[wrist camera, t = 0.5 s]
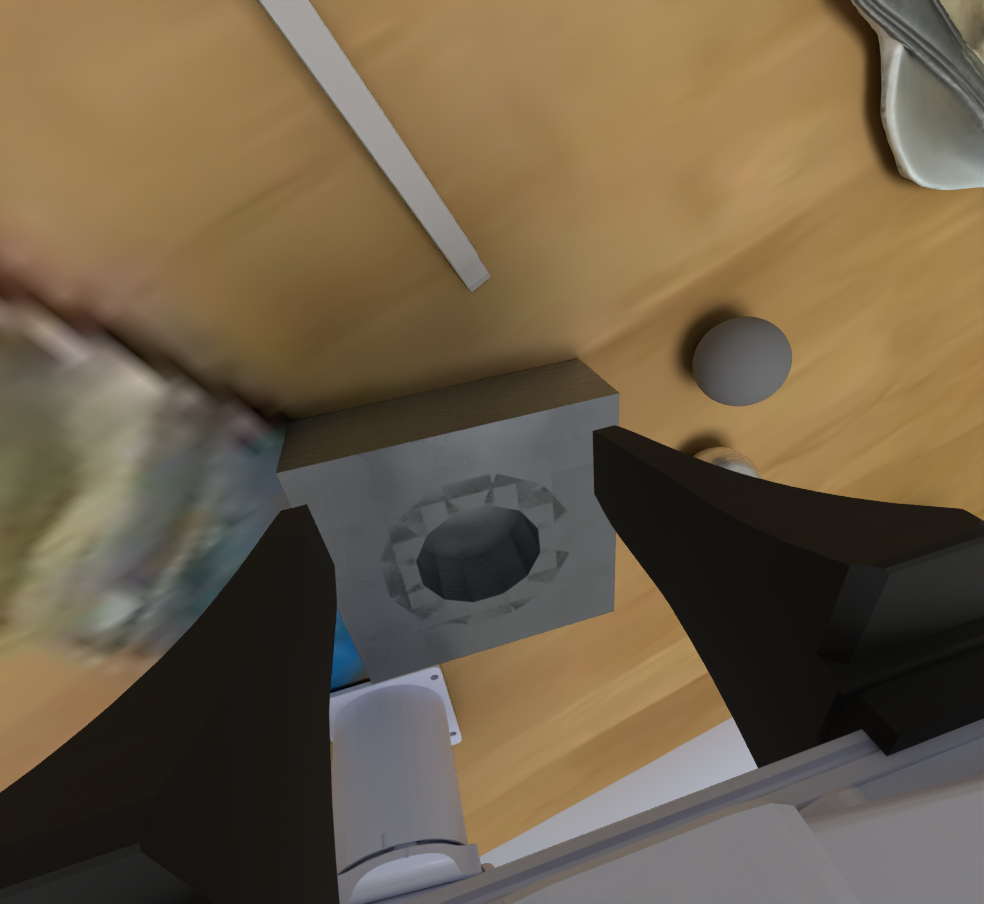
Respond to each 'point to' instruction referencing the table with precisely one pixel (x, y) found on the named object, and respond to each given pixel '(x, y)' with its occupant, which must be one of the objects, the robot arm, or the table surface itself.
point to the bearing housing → (460, 513)
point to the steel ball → (729, 460)
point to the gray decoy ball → (742, 361)
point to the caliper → (374, 131)
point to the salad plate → (932, 87)
